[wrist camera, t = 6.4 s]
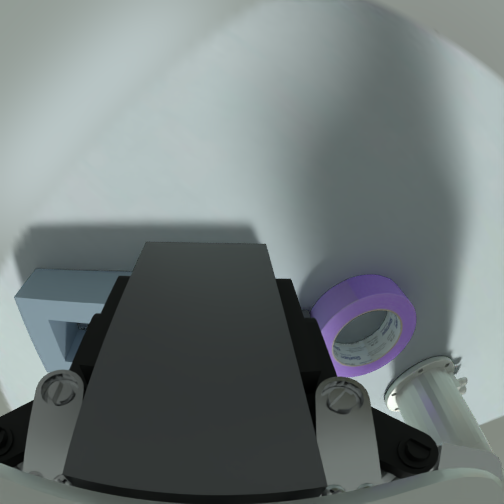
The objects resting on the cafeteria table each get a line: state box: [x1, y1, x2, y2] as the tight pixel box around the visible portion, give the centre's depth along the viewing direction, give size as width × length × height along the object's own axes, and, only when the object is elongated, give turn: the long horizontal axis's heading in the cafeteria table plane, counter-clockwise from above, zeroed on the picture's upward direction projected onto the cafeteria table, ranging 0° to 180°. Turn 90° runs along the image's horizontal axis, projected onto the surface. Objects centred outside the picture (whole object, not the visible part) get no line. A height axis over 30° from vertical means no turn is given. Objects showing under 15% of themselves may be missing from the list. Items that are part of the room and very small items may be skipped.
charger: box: [62, 242, 328, 504], centre depth 7 cm, size 4×4×9 cm
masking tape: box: [310, 274, 416, 377], centre depth 32 cm, size 12×12×4 cm
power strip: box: [14, 269, 311, 372], centre depth 29 cm, size 28×10×5 cm, turn 86°
